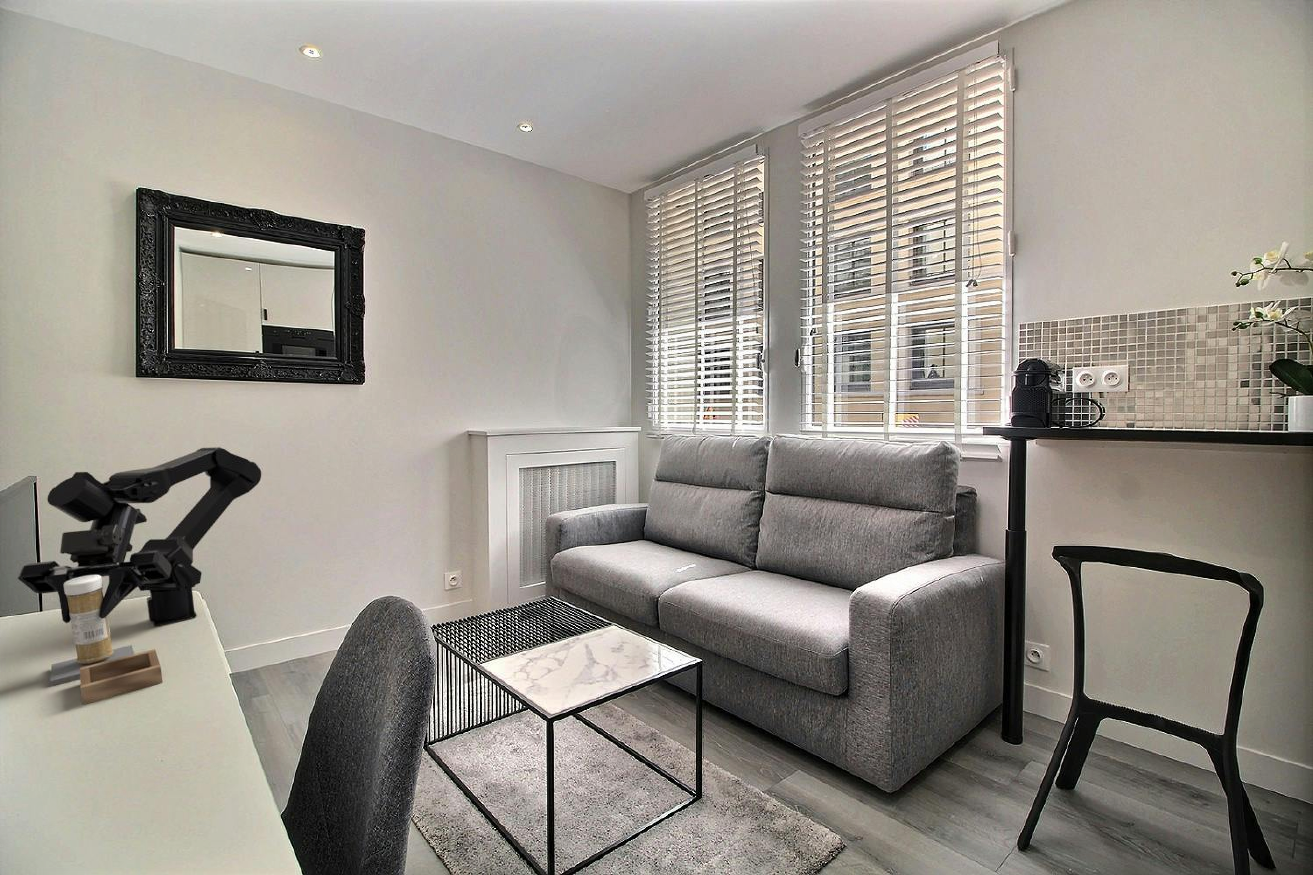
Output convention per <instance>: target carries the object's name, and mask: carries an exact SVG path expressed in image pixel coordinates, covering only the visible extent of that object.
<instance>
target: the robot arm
mask: <svg viewBox="0 0 1313 875" xmlns="http://www.w3.org/2000/svg"><path fill="white" fill-rule="evenodd" d="M202 473H205V474H204V475H206V476H207V477H209V488H208V490H207V491H206V493H205V494H204V495H203V496H202V497H201V498H200V499H199V500H198V502H197V503H195V505H194V506H193V508H191V510H189V512H188V513H187V514H186V516H184V518H182V520H181V521H179V523H178V524H177V526H175V528H174V529H173V530H172V531H171V533H169V535H168V536H167V537H165V538H164V539H160V538H159V539H158V538H157V539H156V538H155V539H152V538H151V539H148V540H147V541H146V542H145V543H144V545H143V546H142V548H141V549H140V550H139V551H138V552H134V553H131V552H132V550H133V545H132V544H131V543H130V542H131V539H132V536H133V533H134V529H135V525H138V524H142V523H147V521H148V518H147V517H146V515H145V514H144V513H142V511H141V509H140V508H135V507H134V506H132V505H131V504H152V503H154V502H156V501H158V500H159V499H161V498H162V497H164V496H165V495H167V494H168V493H169V491H170V489H171V487H173V486H174V485H178V484H179V483H181V482H184V481H186V480H189V479H191V478H193V477H195V476H197V475H200V474H202ZM261 479H262V471H261V468H260V467H259V466H258V464H257V463H256V462H254V461H250V460H249V459H248V458H245V457H241V456H239V455H236V454H234V453H231V452H230V451H228V450H227V449H225V448H223V447H221V446H220V447H218V446H217V447H215V446H214V447H201V448H200V449H199V448H198V449H196V451H194V452H191V453H188V454H185V455H184V456H179V457H177V458H175V459H173V460H169V461H166V462H165V463H161V464H158V465H156V466H154V467H150V468H149V467H148V468H141V469H140V468H139V469H132V470H126V471H119V472H116V473H113V474H112V475H111V476H109V478H108V480H107V481H104V482H101V481H99V480H98V479H96V478H95V477H94V476H93V475H92V474H91V473H89V472H88V471H76V472H75V473H74V474H73V475H72V477H69V478H67V479H64V480H63V481H61V482H60V483H58V484H57V485H56V486H55V487H53V488H52V489H51V490H50V491H49V493H48V495H47V498H46V500H47V503H48V505H50V506H52V507H54V508H55V509H56V510H59V511H60V512H62V513H64V514H65V515H68V516H69V517H70V518H73V519H74V520H76V521H78V522H81V523H88V522H91V525H90V528H89V529H87V530H76V531H66V532H62V535H61V543H60V550H59V551H60V552H59V553H60V554H67V555H70V558H69V561H71V562H72V563H77V566H73V567H72V566H69V565H59V564H58V563H57V561H56V560H52V561H51V560H50V561H42V562H32V563H27V564H25V565H24V566H22V567H21V569H20V571H19V573H18V577H17V579H18V580H19V581H20V582H21V583H23V584H24V585H25V586H26V587H27V588H29V589H30V590H32V592H33V593H36V594H39V595H40V594H49V593H50V594H51V593H57V595H58V598H59V604H60V612H61V617H62V621H63V622H64V623H65V624H68V623H71V619H70V614H69V612H70V611H69V606H68V599H67V597H66V594H65V591H64V583H65V582H66V581H68V580H70V579H73V578H77V577H81V576H87V575H100V576H101V577H102V578H103V577H108V584H107V588H106V591H105V593H104V595H103V597H104V599H103V601H102V604H101V608H100V613H99V617H100V618H105V617H106V616H107V617H108V615H110V613H111V612H112V611H113V610H114V609H115V608H116V607H117V606H118V605H119V604H120V603H121V602H122V601H123V600H124V599H125V598H126V597H127V596H128V595H130V594H131V593H132V592H133V591H134V590H136V589H137V588H138V589H139V591H140V592H144V591H149V597H147V598H146V605H147V606H146V608H147V614H148V620H149V622H151V623H153V627H159V626H163V625H167V624H172V623H175V622H181V621H184V620H188V619H193V618H196V617H197V615H198V614H197V613H196V611H195V605H194V604H195V603H194V594H193V588H194V587H196V585H198V584H200V583H201V580H202V579H201V578H202V575H203V574H202V571H201V570H199V569H198V568H196V567H195V566H194V565H192V564H193V563H194V552H193V551H194V549H195V548H196V546H197V545H198V544H199V543H200V542H201V540H202V539H203V538H204V536H206V534H207V533H208V532H209V530H211V528H212V527H213V526H214V524H215V523H216V522H217V521H218V519H219V518H220V517H221V516H222V514H223V513H225V511H226V510H227V509H228V507H229V506H230V505H231V503H232V502H233V501H234V500H236V499H238V498H241V497H242V496H244V495H246V494H248V493H250V492H251V491H252V490H254V488H255V487H256V486H258V485H259V482H260V481H261ZM129 552H130V553H131V554H130V558H129V561H125V560H126V557H127V553H129Z"/></svg>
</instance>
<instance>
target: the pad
mask: <svg viewBox="0 0 1313 875" xmlns="http://www.w3.org/2000/svg"><path fill="white" fill-rule="evenodd" d="M112 649H113V650H114V652H113V654H112V655H111V656H109V657H108V658H106V659H103V660H100V661H97V662H93V663H86V664H84V663H83V664H82V663H78V662H77V658H73V659H68V660H64V661H61V662H56V663H53V664H51V665H50V677H49V678H50V681H49V682H50V686H51V687H53V686H57V685H60V684H64V683H65V684H66V683H68V682H72V681H76V680H79V679H80V668H81V667H85V666H89V665H93V664H97V663H101V662H105V661H109V660H113V659H117V658H121V657H125V656H129V655H133V654H135V653H134V648H133V645H132V644H130V645H126V646H123V647H122V646H121V647H117V648H112Z"/></svg>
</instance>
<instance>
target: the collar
mask: <svg viewBox="0 0 1313 875" xmlns="http://www.w3.org/2000/svg"><path fill="white" fill-rule="evenodd" d="M79 681H80V693H81V701H82V705H86V704H91V703H94V702H97V701H102V700H105V699H108V698H111V697H116V696H119V695H122V694H126V693H130V692H134V691H137V690H141V689H143V688H148V687H150V686H151V687H152V686H154V685H158V684H162V683H163V682H164V681H163V674H162V667H161V663H160V661H159V657H158V654H157V651H156V649H155V648H154V649H149V650H146V651H142V652H137V653H134V654H133V655H129V656H125V657H121V658H117V659H113V660H109V661H105V662H101V663H97V664H93V665H89V666H85V667H81V668H80V680H79Z"/></svg>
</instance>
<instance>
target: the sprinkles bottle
mask: <svg viewBox="0 0 1313 875" xmlns="http://www.w3.org/2000/svg"><path fill="white" fill-rule="evenodd" d="M103 586H104V581H103V577H101V576H100V575H87V576H81V577H77V578H73V579H70V580H68V581H66V582H65V583H64V591H65V594H66V597H67V599H68V606H69V611H70V612H69V614H70V619H71V620H70V624H71V630H72V637H73V642H74V645H75V650H76V651H75V652H76V655H77V662H78V663H82V664H83V663H84V664H86V663H93V662H97V661H100V660H103V659H106V658H108V657H109V656H111V655H112V654H113V652H114V650H113V649H114V648H113V647H112V645H113V644H112V640H111V639H112V638H111V631H110V623H109V622H110V621H109V617H108V615H107V616H106V617H105V618H100V617H99V613H100V608H101V604H102V601H103V599H104V592H103Z"/></svg>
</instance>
